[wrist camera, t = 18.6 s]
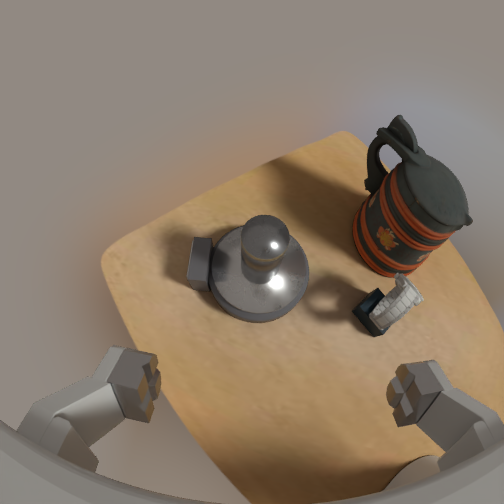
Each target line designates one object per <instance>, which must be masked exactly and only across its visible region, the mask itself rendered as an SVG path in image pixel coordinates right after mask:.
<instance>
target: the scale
mask: <svg viewBox="0 0 504 504" xmlns="http://www.w3.org/2000/svg"><path fill="white" fill-rule="evenodd" d="M241 227H244V225H243V226H240V227H237V228H235V229H233V230H231V231H230V232H228V233H227V234H225V235H224V236H223V237H222V238H221V239H220V240H219V241H218V242H217V244H216V245H215V246H214V248H213V243H212V238H200V237H194V241H192V247H191V253H190V259H189V265H188V271H187V280H188V281H189V283H190V285H191V287H192V288H193V290H201V291H210V287H211V290H212V292H213V295H214V297H215V299H216V301H217V302H218V303H219V305H220V306H221V307H222V308H223V309H224V310H225V311H226V312H227V313H229V314H230V315H232V316H233V317H235V318H237V319H240V320H242V321H246V322H251V323H265V322H270V321H274V320H276V319H279V318H280V317H282V316H284V315H285V314H287V313H288V312H289V311H290V310H291V309H292V308H293V307H294V306H295V305H296V304H297V303H298V302H299V300H300V299H301V298H302V296H303V294H304V292H305V290H306V287H307V284H308V280H309V266H308V261H307V258H306V255H305V253H304V251H303V249H302V247H301V246H300V244H299V243H298V242H297V241H296V240H295V239H294V238H293V237H292V236H291V235H290V234H289V236H290V237H291V238H293V239H294V241H295V242H296V243H297V244H298V246H299V247H300V249H301V251H302V253H303V256H304V259H305V264H306V275H305V280H304V283H303V286H302V288H301V290H300V292H299V293H298V294H297V296H296V297H295V298H294V299H293V300H292V301H291V302H290V303H289V304H288V305H287V306H285V307H283V308H282V309H280V310H277V311H275V312H271V313H266V314H253V313H248V312H244V311H241V310H239V309H237V308H235V307H234V306H232V305H231V304H229V303H228V302H227V301H226V300H225V299H224V298H223V297H222V296H221V294H220V293H219V291H218V289H217V288H216V285H215V283H214V279H213V275H212V260H213V256H214V253H215V251H216V249H217V247H218V245H219V244H220V242H221V241H222V240H223V239H224V238H225V237H226V236H227V235H228V234H229V233H231V232H232V231H234V230H236V229H238V228H241Z"/></svg>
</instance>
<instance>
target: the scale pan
mask: <svg viewBox="0 0 504 504" xmlns="http://www.w3.org/2000/svg"><path fill="white" fill-rule="evenodd" d="M242 229H243V227H241V228H238V229H236V230H234V231H232V232H231V233H229V234H228V235H227V236H226V237H225V238H224V239H223V240H222V241H221V242H220V244H219V245H218V247H217V249H216V251H215V253H214V256H213V260H212V275H213V279H214V283H215V285H216V288H217V289H218V291H219V293H220V294H221V296H222V297H223V298H224V299H225V300H226V301H227V302H228V303H229V304H231V305H232V306H234V307H235V308H237V309H239V310H241V311H244V312H248V313H253V314H266V313H271V312H275V311H277V310H280V309H282V308H283V307H285V306H287V305H288V304H289V303H290V302H291V301H292V300H293V299H294V298H295V297H296V296H297V294H298V293H299V292H300V290H301V288H302V286H303V283H304V280H305V275H306V264H305V259H304V256H303V253H302V251H301V249H300V247H299V246H298V244H297V243H296V242H295V241H294V239H293V238H291V237H290V241H289V245H288V248H287V250H286V252H285V254H284V257H283V260H282V262H281V265H280V267H279V270H278V273H277V275H276V277H275V278H274V279H273V280H272V281H270V282H268V283H266V284H254V283H252V282H250V281H248V280H247V279H246V278H245V277H244V275H243V274H242V271H241V231H242Z"/></svg>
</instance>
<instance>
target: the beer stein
mask: <svg viewBox="0 0 504 504" xmlns="http://www.w3.org/2000/svg"><path fill="white" fill-rule="evenodd" d="M377 135H378V136H377V137H376V138H375V139H374V140H373V141H372V143H371V144H370V146H369V149H368V153H367V172H368V178H367V179H365V180H364V184H365V187H366V188H365V190H368V191H369V192H370V193H371V194H370V195H369V197H368V198H367V199H366V200H365V201H364V202H363V204H362V206H361V207H360V209H359V210H358V212H357V213H356V215H355V218H354V223H353V237H354V241H355V244H356V247H357V249H358V251H359V253H360V255H361V256H362V258H363V259H364V260H365V262H366V263H367V264H368V265H369V266H370V267H371V268H372V269H374V270H375V271H376V272H378V273H380V274H382V275H384V276H387V277H393V278H394V276H395V275H396V274H397V273H398V274H399V275H400V274H403V275H405V276H407V275H409V274H411V273H412V272H413V271H414V270H415V269H416V268H417V267H418V266H420V265H421V264H422V263H423V262H424V261H425V260H426V259H427V258H428V256H429V254H430V253H431V252H432V251H433V250H435V249H437V248H439V247H440V246H441V245H442V244H443V243H444V242H445V241H446V240H447V239H448V238H449V237H450V236H451V235H452V234H453V233H454V232H455V231H456V230H459V229H461V228H462V227H463V225H466V226H468V225H470V224H471V223H472V222H473V220H472V218H471V217H470V216H469V215H468V203H467V199H466V196H465V192H464V190H463V188H462V185H461V184H460V182H459V180H458V179H457V178H456V176H455V175H454V174H453V173H452V171H450V170H449V168H447V167H446V166H445V165H444V164H442V163H441V162H440V161H438V160H436V159H434V158H433V157H431V156H428V155H426V153H425V151H424V150H423V149H422V148H420V147H419V146H418V144H417V139H416V136H415V134H414V132H413V130H412V128H411V127H410V125H409V124H408V123H407V122H406V121H405V120H404V119H403V117H402V115H397V116H396V117H395V118H394V119H393V120H392V122H391V123H390V125H389V126H388V128H384V127H383V128H379V129H378V131H377ZM385 144H388V145H389V146H391V147H392V148H393V149H394V150H395V151H396V152H397V153H398V155H399V156H400V157H401V158H402V162H401V163H398V164H397V165H396V167H395V168H394V169H393V170H391V172H390V173H388V172H387V171H386V170H385V168H384V167H383V165H382V163H381V161H380V158H379V151H380V148H381V147H382V146H383V145H385Z"/></svg>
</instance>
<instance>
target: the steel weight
mask: <svg viewBox="0 0 504 504" xmlns="http://www.w3.org/2000/svg"><path fill="white" fill-rule="evenodd" d="M289 241H290V236H289V231H288V229H287V227H286V225H285V224H284V223H283V222H282V221H281V220H280V219H278V218H276V217H274V216H270V215H258V216H255V217H253V218H251V219H250V220H248V221H247V222H246V223H245V225H244V227H243V229H242V231H241V271H242V274H243V275H244V277H245V278H246V279H247V280H248V281H250V282H252V283H254V284H266V283H268V282H270V281H272V280H273V279H274V278H275V277H276V275H277V273H278V270H279V267H280V265H281V262H282V260H283V257H284V254H285V252H286V250H287V248H288V245H289Z"/></svg>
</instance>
